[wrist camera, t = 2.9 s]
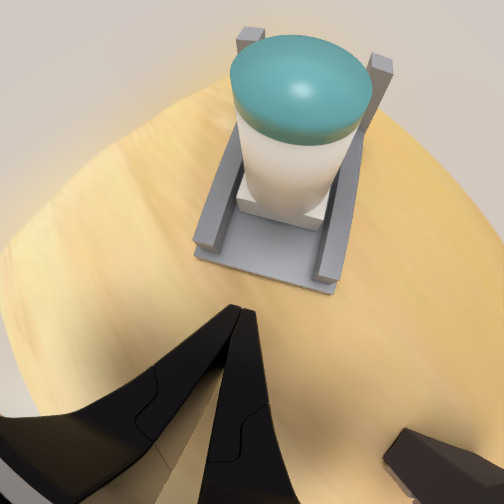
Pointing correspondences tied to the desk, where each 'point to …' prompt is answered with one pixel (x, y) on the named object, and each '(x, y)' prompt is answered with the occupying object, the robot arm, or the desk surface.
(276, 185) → the teal-lidded white jar
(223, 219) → the mount
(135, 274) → the desk surface
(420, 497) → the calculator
